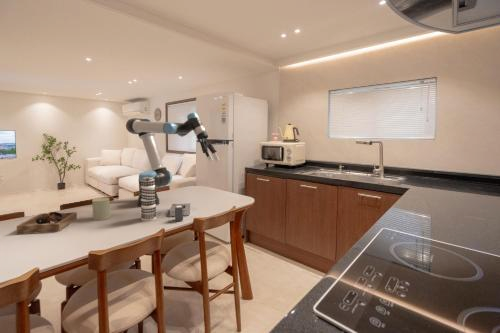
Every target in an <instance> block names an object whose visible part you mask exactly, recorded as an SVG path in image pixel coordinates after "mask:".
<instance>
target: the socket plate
mask: <svg viewBox="0 0 500 333" xmlns="http://www.w3.org/2000/svg"><path fill="white" fill-rule="evenodd" d="M175 206H183V217H185V216H187V217H188V216H189V215H190V216H191V203H171V207H170V210H169V217H175Z"/></svg>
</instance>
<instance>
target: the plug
mask: <svg viewBox="0 0 500 333" xmlns="http://www.w3.org/2000/svg"><path fill="white" fill-rule="evenodd" d="M174 221H175V222H184V216H183V206H175V216H174Z"/></svg>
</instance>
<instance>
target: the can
mask: <svg viewBox="0 0 500 333" xmlns="http://www.w3.org/2000/svg"><path fill="white" fill-rule="evenodd" d="M91 202H92V220H94V221H104V220H107V219H110V218H111V211H110V210H111V209H110V198H109V197H105V196H104V197H96V198H92V200H91Z"/></svg>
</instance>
